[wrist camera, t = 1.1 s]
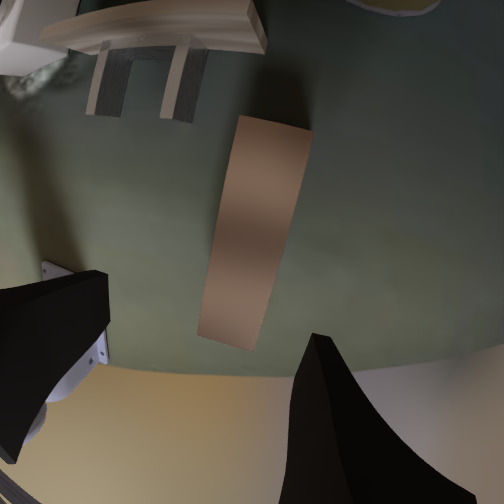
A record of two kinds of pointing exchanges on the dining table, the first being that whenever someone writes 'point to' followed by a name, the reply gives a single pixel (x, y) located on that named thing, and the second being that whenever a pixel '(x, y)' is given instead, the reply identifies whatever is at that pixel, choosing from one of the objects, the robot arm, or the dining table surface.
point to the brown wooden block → (252, 228)
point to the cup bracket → (149, 47)
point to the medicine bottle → (30, 33)
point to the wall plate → (165, 25)
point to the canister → (397, 6)
